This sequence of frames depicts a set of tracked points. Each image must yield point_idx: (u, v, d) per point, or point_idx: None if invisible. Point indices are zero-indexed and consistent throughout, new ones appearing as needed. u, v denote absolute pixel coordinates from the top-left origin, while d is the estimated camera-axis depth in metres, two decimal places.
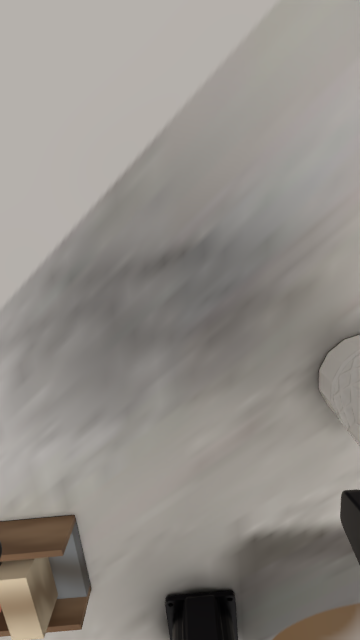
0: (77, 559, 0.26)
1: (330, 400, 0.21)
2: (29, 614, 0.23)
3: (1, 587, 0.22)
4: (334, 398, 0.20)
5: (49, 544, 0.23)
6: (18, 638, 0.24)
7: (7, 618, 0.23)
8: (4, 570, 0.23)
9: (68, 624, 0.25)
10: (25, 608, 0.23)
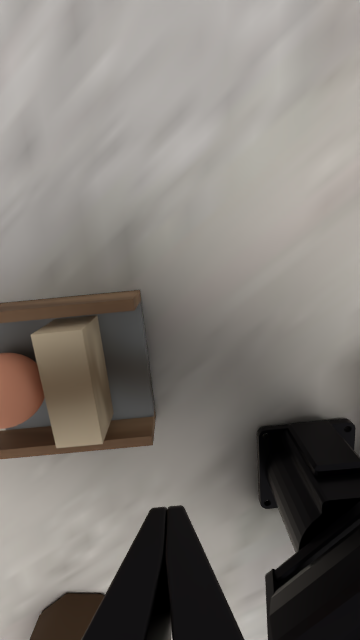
0: (144, 352, 0.18)
1: None
2: (83, 399, 0.15)
3: (43, 347, 0.15)
4: None
5: (112, 299, 0.16)
6: (65, 446, 0.16)
7: (51, 406, 0.15)
8: (46, 329, 0.15)
9: (134, 437, 0.17)
10: (78, 389, 0.15)
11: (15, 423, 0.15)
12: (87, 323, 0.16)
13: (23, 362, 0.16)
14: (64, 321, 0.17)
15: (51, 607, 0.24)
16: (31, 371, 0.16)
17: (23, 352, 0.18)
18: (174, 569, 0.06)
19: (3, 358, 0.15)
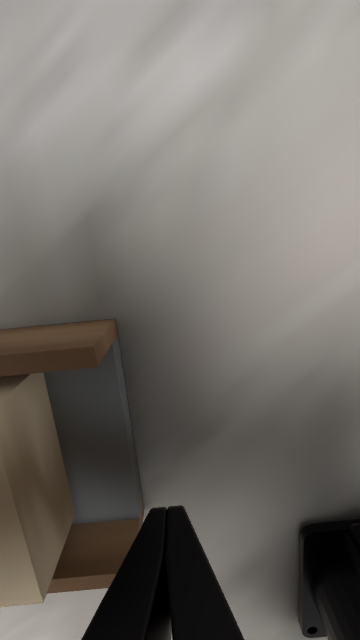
0: (122, 423, 0.11)
1: None
2: (2, 532, 0.08)
3: None
4: None
5: (58, 344, 0.08)
6: None
7: None
8: None
9: (104, 573, 0.10)
10: None
11: None
12: (12, 388, 0.08)
13: None
14: None
15: None
16: None
17: None
18: (174, 569, 0.06)
19: None
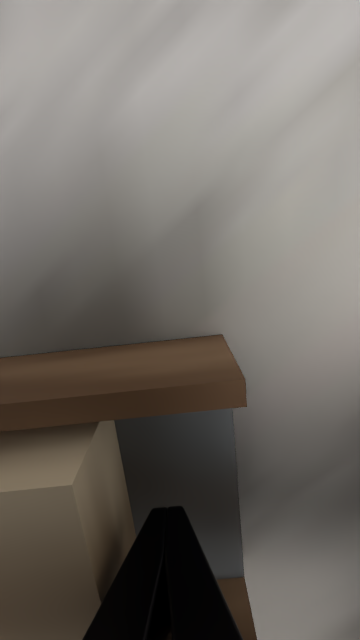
0: (233, 464, 0.09)
1: None
2: (81, 636, 0.06)
3: None
4: None
5: (186, 374, 0.06)
6: None
7: None
8: None
9: None
10: (68, 616, 0.06)
11: None
12: (88, 439, 0.06)
13: None
14: None
15: None
16: None
17: None
18: (173, 569, 0.06)
19: None
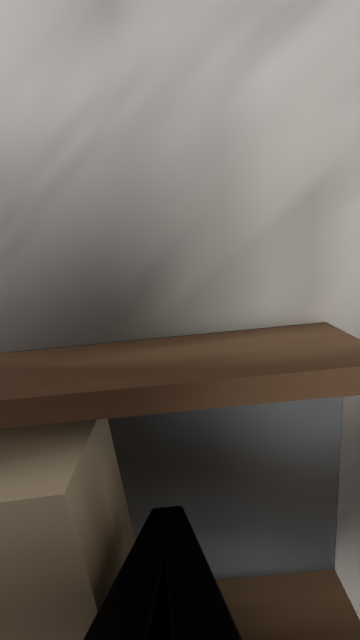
0: (336, 454, 0.09)
1: None
2: None
3: None
4: None
5: (330, 357, 0.06)
6: None
7: None
8: None
9: None
10: (65, 626, 0.06)
11: None
12: (81, 446, 0.06)
13: None
14: (30, 429, 0.07)
15: None
16: None
17: None
18: (173, 569, 0.06)
19: None
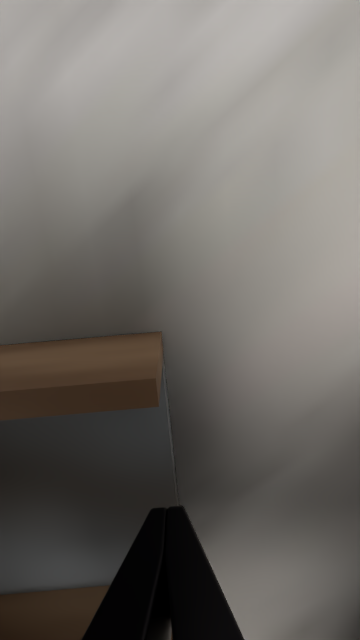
0: (169, 465, 0.08)
1: None
2: None
3: None
4: None
5: (101, 371, 0.06)
6: None
7: None
8: None
9: None
10: None
11: None
12: None
13: None
14: None
15: None
16: None
17: None
18: (174, 569, 0.06)
19: None
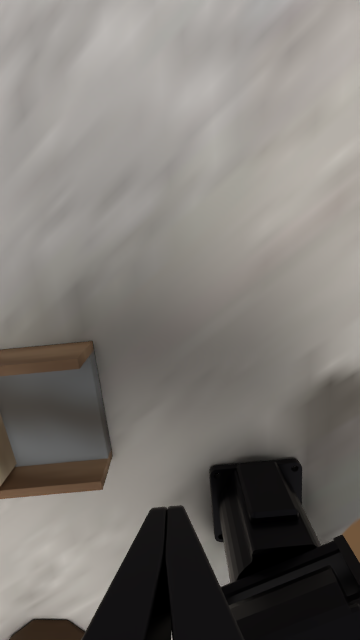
0: (96, 400, 0.19)
1: None
2: None
3: None
4: None
5: (60, 357, 0.17)
6: None
7: None
8: None
9: (84, 482, 0.18)
10: None
11: None
12: None
13: None
14: None
15: (18, 633, 0.25)
16: None
17: None
18: (174, 569, 0.06)
19: None
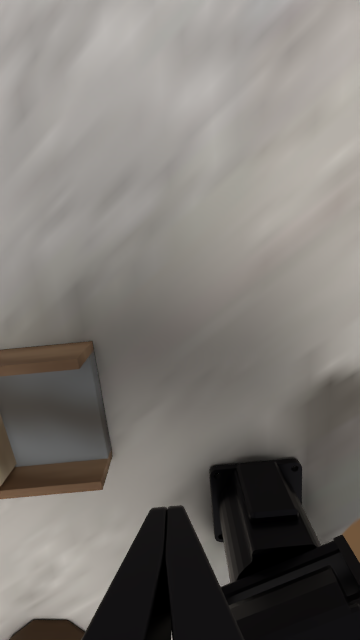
0: (96, 400, 0.19)
1: None
2: None
3: None
4: None
5: (59, 357, 0.17)
6: None
7: None
8: None
9: (84, 482, 0.18)
10: None
11: None
12: None
13: None
14: None
15: (19, 633, 0.25)
16: None
17: None
18: (174, 569, 0.06)
19: None
